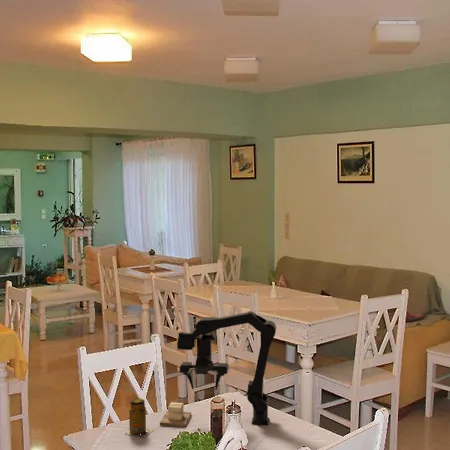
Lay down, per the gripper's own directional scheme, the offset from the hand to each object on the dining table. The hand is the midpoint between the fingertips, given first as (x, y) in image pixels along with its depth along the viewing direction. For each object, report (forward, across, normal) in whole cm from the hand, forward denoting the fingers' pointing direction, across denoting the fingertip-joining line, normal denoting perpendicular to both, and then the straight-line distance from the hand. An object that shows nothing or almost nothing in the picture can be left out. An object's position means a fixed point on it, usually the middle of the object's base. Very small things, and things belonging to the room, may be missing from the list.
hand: (204, 389), depth 238 cm
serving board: (+12, -11, -3) cm, 16 cm away
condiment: (+12, -22, -16) cm, 30 cm away
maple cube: (+11, -11, -3) cm, 16 cm away
